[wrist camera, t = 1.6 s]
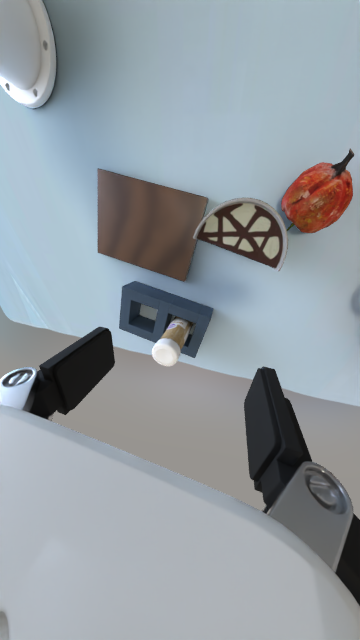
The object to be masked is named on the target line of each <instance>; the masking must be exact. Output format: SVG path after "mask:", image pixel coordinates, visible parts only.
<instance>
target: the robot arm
mask: <svg viewBox="0 0 360 640" xmlns="http://www.w3.org/2000/svg"><path fill="white" fill-rule="evenodd" d="M55 76H56V49H55V42H54V36H53V31H52V27H51V23H50V20H49V17H48V14H47V11H46V8H45V6H44V4H43V2H42V0H0V84H1V85H2V87H3V88H4V89H5V91H6V92H7V93H8V94H9V95H10V96H11V97H12V98H13V99H15V100H16V101H17V102H19V103H20V104H22V105H24V106H26V107H29V108H38V107H40V106H42V105H43V104H44V103H45V102H46V101H47V100H48V98H49V96H50V95H51V92H52V89H53V86H54V82H55ZM114 363H115V360H114V352H113V344H112V335H111V332H110V331H109V329H108V328H103V327H98V328H96V329H95V330H93V331H92V332H90V333H89V334H87V335H86V336H84V337H83V338H81V339H80V340H78V341H76V342H75V343H73V344H72V345H70V346H69V347H67V348H66V349H64V350H63V351H61V352H59V353H58V354H56V355H55V356H53V357H52V358H50V359H49V360H47V361H46V362H44V363H43V364H41V365H40V366H39V367H40V369H41V370H39V371H38V372H37V370H36V369H35V368H33V367H25V368H20V369H17V370H14V371H12V372H10V373H8V374H6V375H5V376H4V377H2V378H1V379H0V640H360V520H359V519H358V518H357V517H356V515H355V514H354V513H353V506H352V502H351V499H350V497H349V495H348V493H347V492H346V490H345V488H344V487H343V486H342V484H341V483H340V482H339V480H338V479H336V477H335V476H334V475H333V474H332V473H331V472H329V471H328V470H327V469H326V468H324V467H323V466H321V465H319V464H317V463H314V462H312V459H311V457H310V454H309V451H308V448H307V446H306V443H305V440H304V438H303V435H302V432H301V430H300V427H299V424H298V421H297V419H296V416H295V413H294V410H293V408H292V405H291V403H290V401H289V400H288V399H287V398H284V395H283V392H282V389H281V386H280V383H279V380H278V377H277V374H276V371H275V370H274V369H271V368H267V367H262V368H261V369H260V368H258V370H257V372H256V374H255V377H254V379H253V382H252V384H251V387H250V389H249V391H248V394H247V396H246V399H245V402H244V411H245V421H246V422H245V423H246V436H247V448H248V462H249V474H250V478H251V479H252V480H254V487H255V490H257V491H260V492H262V493H263V500H264V502H265V504H266V505H265V507H264V508H263V510H262V511H260V510H258V509H256V508H254V507H252V506H250V505H248V504H246V503H244V502H242V501H240V500H238V499H236V498H234V497H231V496H229V495H227V494H224V493H222V492H220V491H218V490H215V489H213V488H211V487H209V486H206V485H204V484H202V483H199V482H197V481H195V480H192V479H190V478H188V477H185V476H183V475H181V474H178V473H176V472H173V471H171V470H169V469H166V468H164V467H161V466H159V465H157V464H154V463H152V462H149V461H147V460H145V459H142V458H140V457H137V456H135V455H133V454H130V453H128V452H125V451H123V450H120V449H118V448H116V447H113V446H111V445H108V444H106V443H103V442H101V441H99V440H96V439H94V438H91V437H89V436H86V435H84V434H81V433H79V432H77V431H74V430H72V429H69V428H67V427H64V426H62V425H59V424H57V423H54V422H52V417H53V414H54V412H55V411H56V410H57V411H58V412H59V413H62V414H64V415H66V414H67V413H68V412H69V411H70V410H72V409H74V408H75V407H76V406H77V405H78V404H79V403H80V402H81V401H82V399H83V398H85V396H86V395H87V394H88V393H89V392H90V391H91V390H92V389H93V388H94V387H95V386H96V385H97V384H98V383H99V381H100V380H101V379H102V378H103V377H104V376H105V375H106V374H107V373H108V372H109V371H110V370H111V369H112V368H113V366H114Z"/></svg>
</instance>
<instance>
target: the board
mask: <svg viewBox="0 0 360 640" xmlns="http://www.w3.org/2000/svg"><path fill="white" fill-rule="evenodd" d="M207 203H208V198H206V197H203V196H199V195H195V194H191V193H188V192H184V191H180V190H176V189H173V188H169V187H165V186H162V185H158V184H154V183H150V182H147V181H143V180H139V179H135V178H132V177H128V176H124V175H121V174H117V173H113V172H109V171H106V170H102V169H98V253H101V254H104V255H107V256H110V257H113V258H116V259H119V260H122V261H125V262H128V263H131V264H133V265H136V266H139V267H142V268H145V269H148V270H151V271H154V272H157V273H160V274H163V275H166V276H169V277H172V278H175V279H178V280H181V281H184V282H185V281H186V279H187V275H188V271H189V268H190V264H191V261H192V257H193V253H194V250H195V246H196V243H197V239H194V238H193V236H194V233H195V231H196V229H197V227H198V226H199V224H200V222H201V221H202V220H203V217H204V214H205V210H206V206H207Z"/></svg>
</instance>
